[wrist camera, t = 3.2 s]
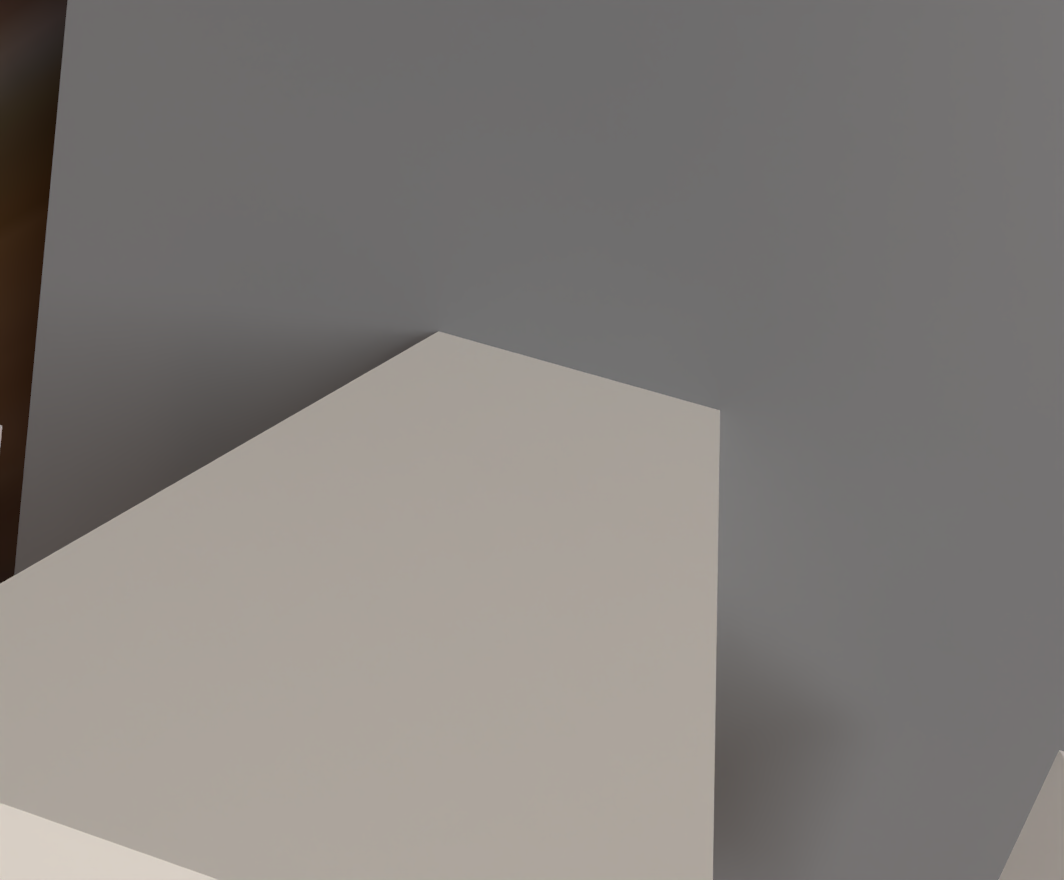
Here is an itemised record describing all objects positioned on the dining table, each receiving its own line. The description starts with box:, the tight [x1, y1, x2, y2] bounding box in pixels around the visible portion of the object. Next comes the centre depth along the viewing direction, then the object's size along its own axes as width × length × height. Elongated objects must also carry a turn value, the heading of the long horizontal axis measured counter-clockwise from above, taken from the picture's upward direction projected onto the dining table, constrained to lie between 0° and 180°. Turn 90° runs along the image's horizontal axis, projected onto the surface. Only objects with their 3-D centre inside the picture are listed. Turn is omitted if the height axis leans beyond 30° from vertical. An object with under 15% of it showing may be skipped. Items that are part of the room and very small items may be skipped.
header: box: [14, 0, 1064, 880], centre depth 15 cm, size 20×14×4 cm
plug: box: [0, 331, 720, 880], centre depth 10 cm, size 6×4×13 cm, turn 166°
